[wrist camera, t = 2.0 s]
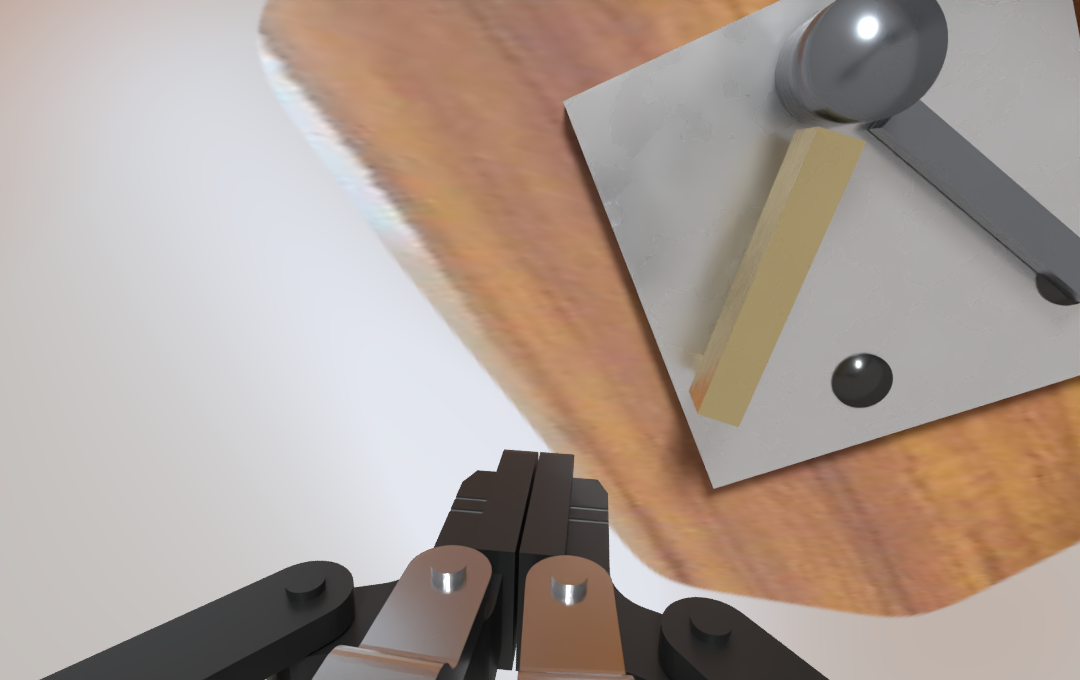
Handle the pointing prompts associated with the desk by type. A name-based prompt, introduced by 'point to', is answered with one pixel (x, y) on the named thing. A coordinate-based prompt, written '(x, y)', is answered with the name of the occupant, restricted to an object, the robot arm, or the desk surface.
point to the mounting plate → (857, 210)
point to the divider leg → (773, 270)
